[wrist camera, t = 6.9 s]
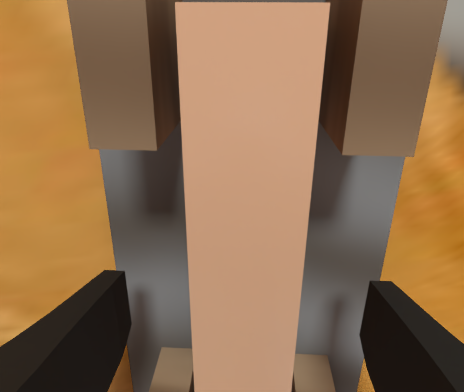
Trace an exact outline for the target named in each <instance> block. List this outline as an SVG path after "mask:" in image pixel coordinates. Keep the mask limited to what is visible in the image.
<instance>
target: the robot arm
mask: <svg viewBox="0 0 464 392" xmlns="http://www.w3.org/2000/svg"><path fill="white" fill-rule="evenodd" d="M131 325H132V322H131V314H130V306H129V299H128V291H127V284H126V276H125V271H115V270H104V271H103V272H102V273H100V274H99V275H98V276H96V277H95V278H94V279H92V280H91V281H90V282H89V283H87V284H86V285H85V286H84V287H82V288H81V289H80V290H79V291H77V292H76V293H75V294H73V295H72V296H71V297H70V298H68V299H67V300H66V301H64V302H63V303H62V304H61V305H59V306H58V307H57V308H55V309H54V310H53V311H51V312H50V313H49V314H47V315H46V316H44V317H43V318H42V319H40V320H39V321H37V322H36V323H35V324H33V325H32V326H30V327H29V328H28V329H26V330H25V331H23V332H22V333H20V334H19V335H18V336H16V337H15V338H13V339H12V340H10V341H9V342H7V343H5V344H4V345H2V346H1V347H0V392H107V391H108V389H109V387H110V384H111V382H112V380H113V377H114V375H115V373H116V370H117V368H118V366H119V363H120V361H121V359H122V356H123V353H124V350H125V346H126V343H127V340H128V336H129V332H130V329H131ZM359 336H360V340H361V345H362V350H363V354H364V358H365V362H366V367H367V370H368V373H369V376H370V379H371V381H372V384H373V387H374V390H375V392H464V344H463V343H462V342H461V341H459V340H458V339H457V338H456V337H454V336H453V335H452V334H451V333H450V332H448V331H447V330H446V329H445V328H444V327H443V326H441V325H440V324H439V323H438V322H437V321H436V320H434V319H433V318H432V317H431V316H430V315H429V314H428V313H427V312H425V311H424V310H423V309H422V308H421V307H420V306H419V305H418V304H416V303H415V302H414V301H413V300H412V299H411V298H410V297H409V296H408V295H406V294H405V293H404V292H403V291H402V290H401V289H400V288H399V287H397V286H396V285H395V284H394V283H393V282H391V281H370V282H369V287H368V292H367V297H366V302H365V308H364V313H363V318H362V323H361V328H360V334H359Z"/></svg>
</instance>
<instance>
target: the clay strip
mask: <svg viewBox="0 0 464 392" xmlns="http://www.w3.org/2000/svg"><path fill="white" fill-rule="evenodd" d="M329 11H330V3H324V2H175V15H176V34H177V54H178V74H179V94H180V114H181V134H182V154H183V173H184V193H185V213H186V233H187V253H188V273H189V293H190V313H191V332H192V352H193V372H194V392H291V389H292V379H293V369H294V359H295V349H296V339H297V329H298V319H299V309H300V299H301V289H302V279H303V269H304V260H305V250H306V240H307V230H308V220H309V210H310V200H311V190H312V180H313V170H314V160H315V150H316V140H317V130H318V120H319V110H320V101H321V91H322V81H323V71H324V61H325V51H326V41H327V31H328V21H329Z"/></svg>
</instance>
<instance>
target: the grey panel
mask: <svg viewBox="0 0 464 392" xmlns="http://www.w3.org/2000/svg"><path fill="white" fill-rule="evenodd" d="M175 2H324V3H330V11H329V21H328V31H327V41H326V51H325V61H324V71H323V81H322V91H321V101H320V110H319V120H318V130H317V140H316V150H315V160H314V170H313V180H312V190H311V200H310V210H309V220H308V230H307V240H306V250H305V260H304V269H303V279H302V289H301V299H300V309H299V319H298V329H297V339H296V349H295V359H294V369H293V379H292V389H291V392H357V388H358V383H359V378H360V373H361V369H362V364H363V359H364V354H363V350H362V345H361V340H360V336H359V334H360V328H361V323H362V318H363V313H364V308H365V302H366V297H367V292H368V287H369V282H370V281H380V276H381V271H382V267H383V262H384V257H385V252H386V247H387V242H388V237H389V233H390V228H391V223H392V218H393V213H394V208H395V203H396V199H397V194H398V189H399V184H400V179H401V174H402V169H403V165H404V160H405V157H414V153H415V149H416V144H417V139H418V135H419V130H420V125H421V121H422V116H423V112H424V107H425V102H426V98H427V93H428V88H429V84H430V79H431V75H432V70H433V65H434V61H435V56H436V51H437V47H438V42H439V37H440V33H441V28H442V24H443V19H444V14H445V10H446V5H447V0H67V4H68V10H69V17H70V23H71V30H72V36H73V43H74V50H75V56H76V63H77V69H78V76H79V82H80V89H81V95H82V102H83V108H84V115H85V121H86V128H87V135H88V141H89V148H90V149H99V152H100V159H101V166H102V173H103V180H104V187H105V194H106V201H107V208H108V215H109V222H110V229H111V236H112V243H113V250H114V257H115V264H116V271H125V276H126V284H127V291H128V299H129V306H130V314H131V322H132V325H131V329H130V332H129V336H128V340H127V348H128V355H129V362H130V369H131V376H132V383H133V390H134V392H194V372H193V352H192V332H191V313H190V293H189V273H188V253H187V233H186V213H185V193H184V173H183V154H182V134H181V114H180V94H179V74H178V54H177V34H176V15H175Z"/></svg>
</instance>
